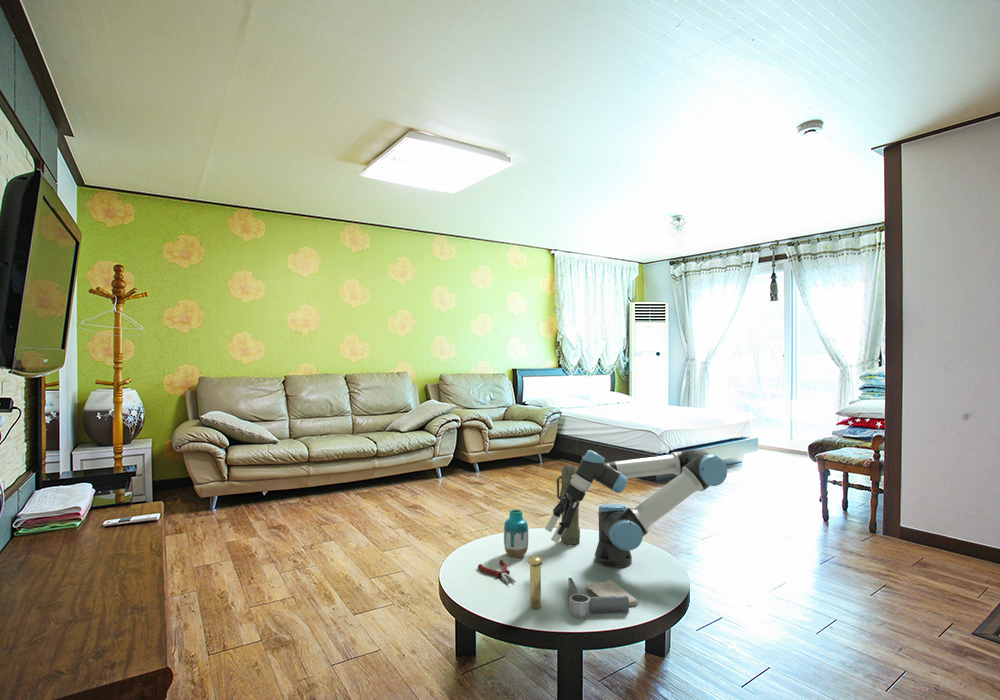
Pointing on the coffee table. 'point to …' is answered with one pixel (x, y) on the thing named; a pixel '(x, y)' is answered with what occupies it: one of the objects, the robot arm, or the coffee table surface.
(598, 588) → the washcloth
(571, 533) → the thermos
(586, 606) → the hinge
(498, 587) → the coffee table surface
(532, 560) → the hinge pin
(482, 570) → the pliers
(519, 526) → the vase
